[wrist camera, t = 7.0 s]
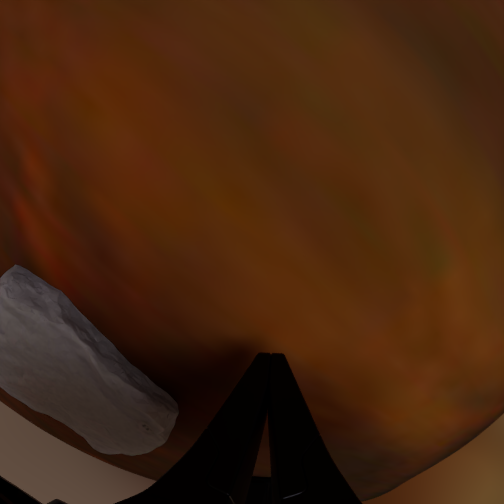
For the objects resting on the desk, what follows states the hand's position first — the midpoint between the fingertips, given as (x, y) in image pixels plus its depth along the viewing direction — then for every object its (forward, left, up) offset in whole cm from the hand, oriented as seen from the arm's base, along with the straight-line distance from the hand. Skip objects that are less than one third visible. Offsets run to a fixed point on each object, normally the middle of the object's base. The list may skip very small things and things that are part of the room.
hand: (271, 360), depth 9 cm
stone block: (-4, +10, -2) cm, 11 cm away
